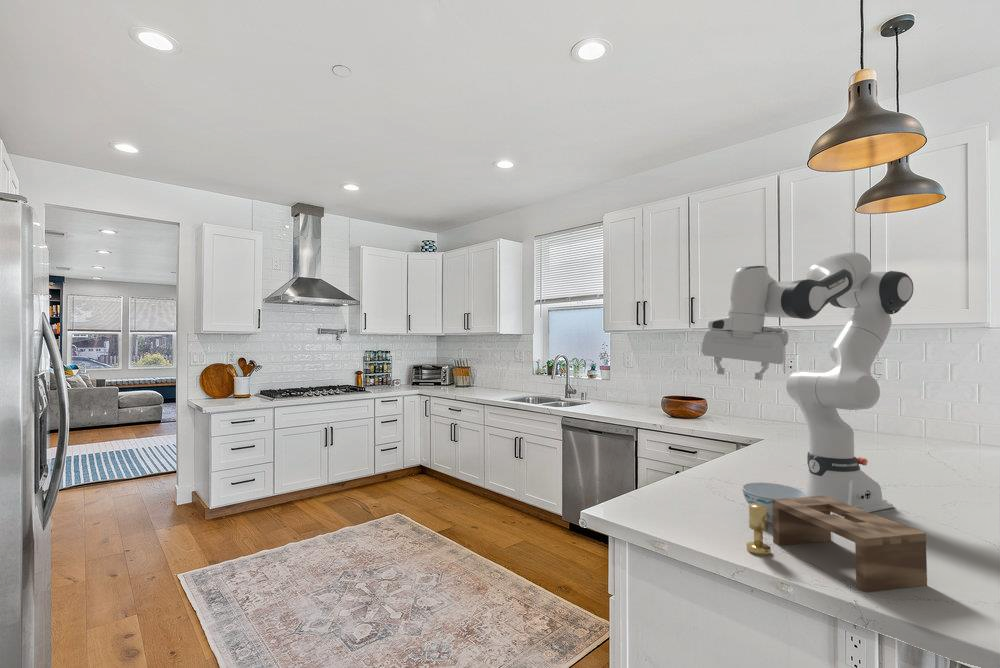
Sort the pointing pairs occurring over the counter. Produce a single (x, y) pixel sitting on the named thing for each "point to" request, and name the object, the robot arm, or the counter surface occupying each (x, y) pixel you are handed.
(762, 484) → the chinaware
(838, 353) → the robot arm
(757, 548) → the brass peg
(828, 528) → the keyhole shelf
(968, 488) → the counter surface
